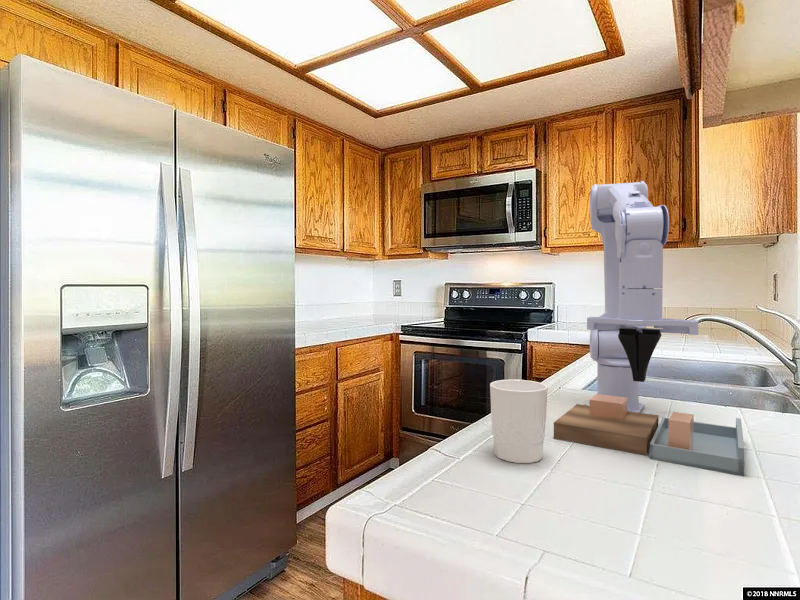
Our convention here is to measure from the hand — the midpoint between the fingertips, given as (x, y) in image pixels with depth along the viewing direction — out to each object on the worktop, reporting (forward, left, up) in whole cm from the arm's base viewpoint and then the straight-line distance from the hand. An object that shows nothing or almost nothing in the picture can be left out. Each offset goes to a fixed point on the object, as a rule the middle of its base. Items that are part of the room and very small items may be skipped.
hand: (639, 380), depth 69 cm
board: (-3, -5, -10) cm, 12 cm away
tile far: (-7, -5, -7) cm, 12 cm away
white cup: (+14, -13, -10) cm, 22 cm away
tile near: (+1, +4, -7) cm, 8 cm away
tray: (-3, +7, -10) cm, 13 cm away
